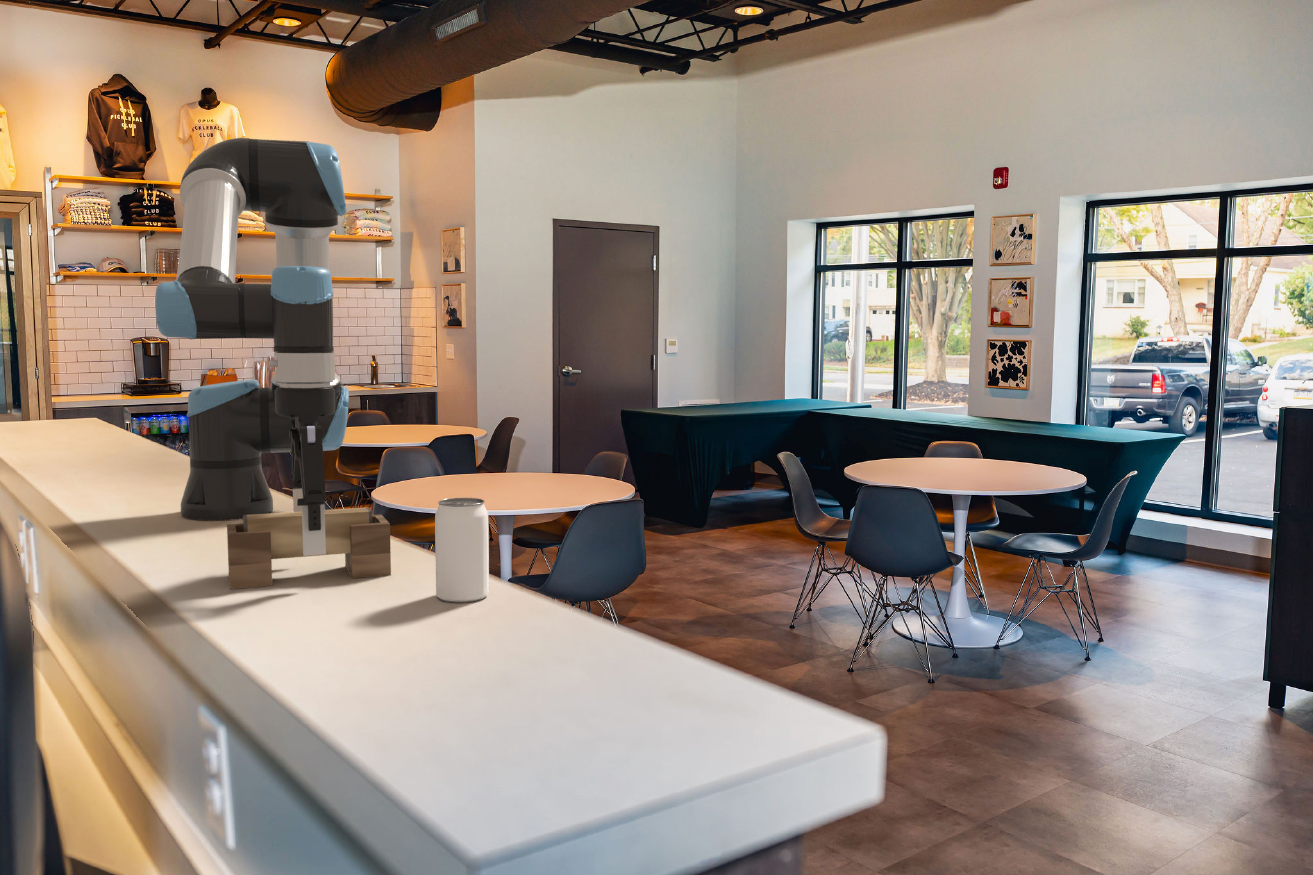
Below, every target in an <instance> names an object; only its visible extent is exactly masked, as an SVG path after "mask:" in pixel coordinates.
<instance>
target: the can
mask: <svg viewBox="0 0 1313 875" xmlns="http://www.w3.org/2000/svg"><path fill="white" fill-rule="evenodd" d="M485 502H486V501H485V500H484V499H482V498H478V497H477V498H476V497H453V498H445V499H441V500H439V501H438V507H437V509H436V512H435V516H434V532H435V533H434V538H435V540H434V542H435V544H434V545H435V546H434V548H435V555H434V556H435V595H436V597H437V598H438V599H439V600H441V601H442V602H446V603H454V604H462V603H463V604H465V603H474V602H477V601H478V602H479V601H481V600H484V599H485V598H486V597H487V596H488V595H489V593H490V592H489V590H490V572H489V571H490V569H489V568H490V566H489V565H490V559H489V557H490V556H489V555H490V553H489V552H490V548H489V546H490V545H489V540H490V539H489V512H488V510H487V508H486V506H485Z"/></svg>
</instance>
